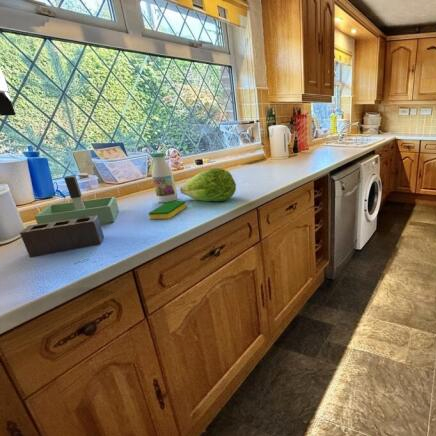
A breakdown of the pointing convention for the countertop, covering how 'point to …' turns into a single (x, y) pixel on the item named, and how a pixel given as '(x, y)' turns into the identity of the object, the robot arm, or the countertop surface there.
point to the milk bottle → (163, 179)
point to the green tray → (80, 211)
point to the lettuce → (210, 185)
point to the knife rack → (62, 235)
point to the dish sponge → (167, 210)
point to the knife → (74, 192)
